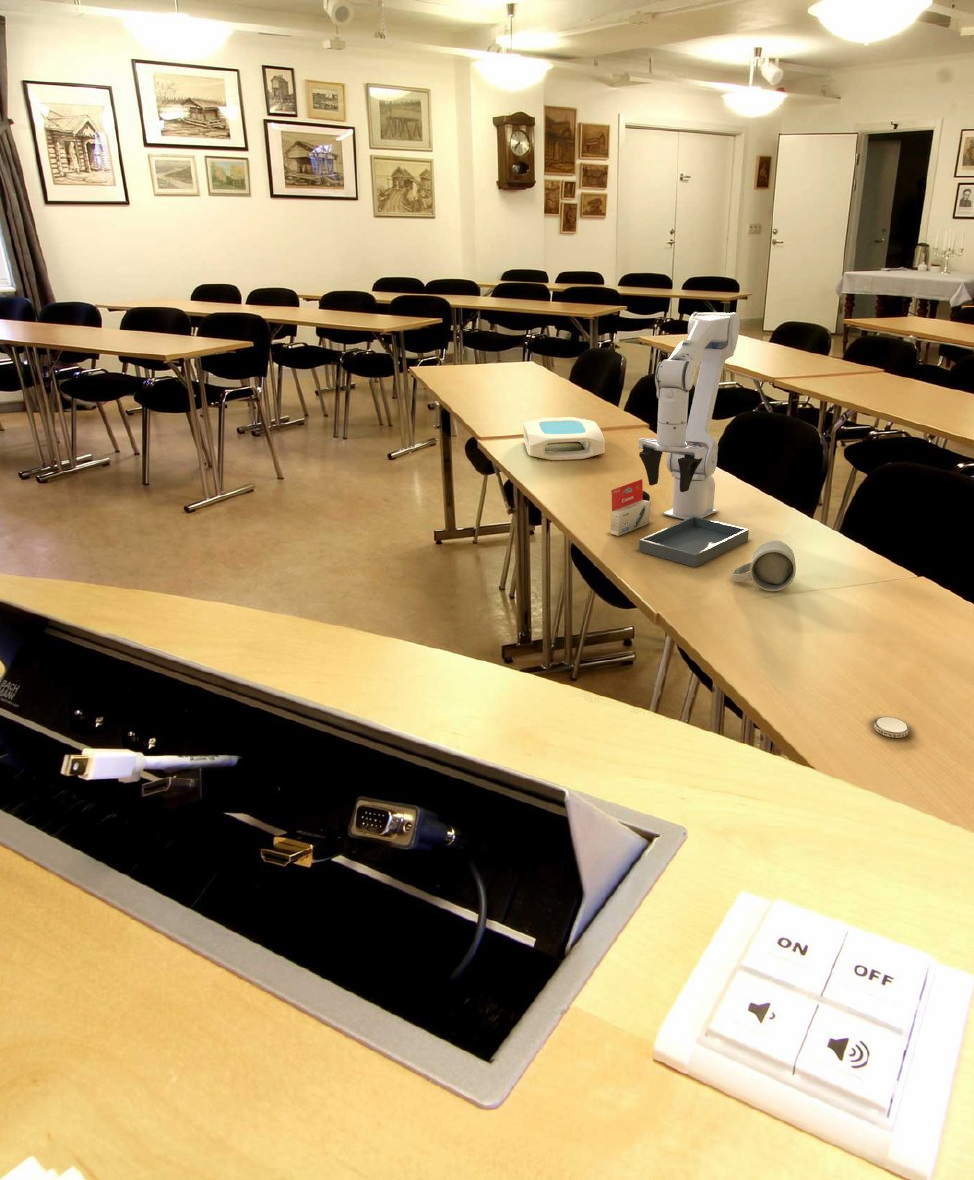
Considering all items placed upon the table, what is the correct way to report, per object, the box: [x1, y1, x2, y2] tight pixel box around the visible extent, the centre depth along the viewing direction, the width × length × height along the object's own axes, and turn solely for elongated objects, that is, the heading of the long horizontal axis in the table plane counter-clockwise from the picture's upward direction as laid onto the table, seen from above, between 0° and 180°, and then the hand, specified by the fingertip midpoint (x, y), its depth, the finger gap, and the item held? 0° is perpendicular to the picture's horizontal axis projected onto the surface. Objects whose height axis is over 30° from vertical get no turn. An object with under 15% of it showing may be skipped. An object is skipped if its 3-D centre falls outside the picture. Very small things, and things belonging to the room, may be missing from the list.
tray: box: [638, 516, 750, 568], centre depth 170 cm, size 19×13×2 cm
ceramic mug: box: [731, 540, 797, 592], centre depth 150 cm, size 11×8×8 cm
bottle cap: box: [873, 716, 910, 739], centre depth 107 cm, size 4×4×1 cm
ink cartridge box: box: [609, 478, 651, 537], centre depth 179 cm, size 2×11×10 cm, turn 134°
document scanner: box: [522, 416, 606, 461], centre depth 246 cm, size 21×28×6 cm
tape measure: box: [623, 487, 651, 502], centre depth 195 cm, size 7×7×4 cm
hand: (668, 487), depth 172 cm, fingers open, 7 cm apart
